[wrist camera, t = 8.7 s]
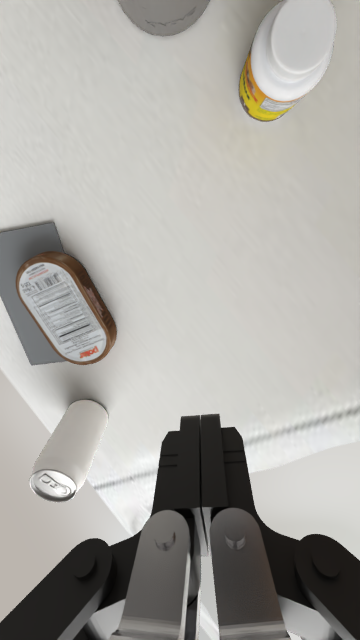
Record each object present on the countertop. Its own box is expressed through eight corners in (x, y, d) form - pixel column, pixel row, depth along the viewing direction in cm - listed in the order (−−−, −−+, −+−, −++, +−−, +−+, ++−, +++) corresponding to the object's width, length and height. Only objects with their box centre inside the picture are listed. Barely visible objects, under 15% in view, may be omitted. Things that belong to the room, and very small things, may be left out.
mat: (-24, 237, 34) (-26, 237, 34) (54, 222, 33) (52, 222, 33) (32, 364, 41) (31, 365, 41) (98, 356, 40) (97, 357, 40)
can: (92, 436, 46) (59, 512, 35) (60, 413, 44) (15, 484, 33) (117, 415, 44) (91, 488, 33) (84, 390, 42) (45, 458, 31)
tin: (68, 239, 33) (14, 266, 35) (54, 244, 30) (-4, 273, 33) (128, 344, 38) (77, 362, 41) (121, 357, 36) (67, 375, 38)
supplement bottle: (244, 46, 26) (270, -39, 16) (305, 54, 26) (367, -26, 16) (232, 120, 28) (249, 82, 19) (288, 127, 28) (333, 93, 19)
